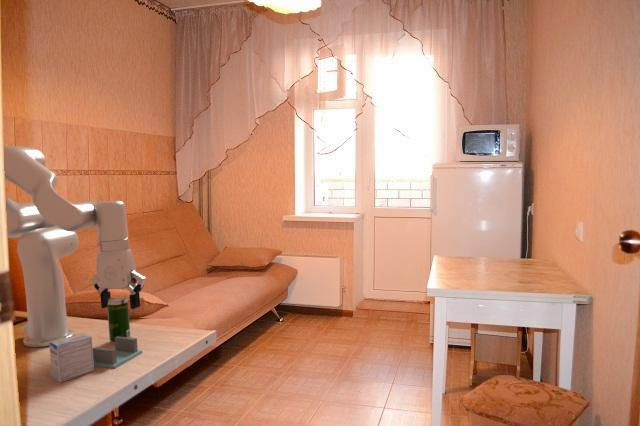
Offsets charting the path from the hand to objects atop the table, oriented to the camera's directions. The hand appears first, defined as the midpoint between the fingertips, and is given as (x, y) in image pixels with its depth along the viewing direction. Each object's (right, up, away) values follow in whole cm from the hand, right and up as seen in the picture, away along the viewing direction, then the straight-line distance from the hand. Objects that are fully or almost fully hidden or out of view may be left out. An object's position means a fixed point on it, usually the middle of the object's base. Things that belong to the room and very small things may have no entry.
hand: (120, 307), depth 135 cm
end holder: (+4, -11, -12) cm, 16 cm away
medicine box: (-3, -12, -21) cm, 24 cm away
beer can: (-1, -10, +1) cm, 10 cm away
